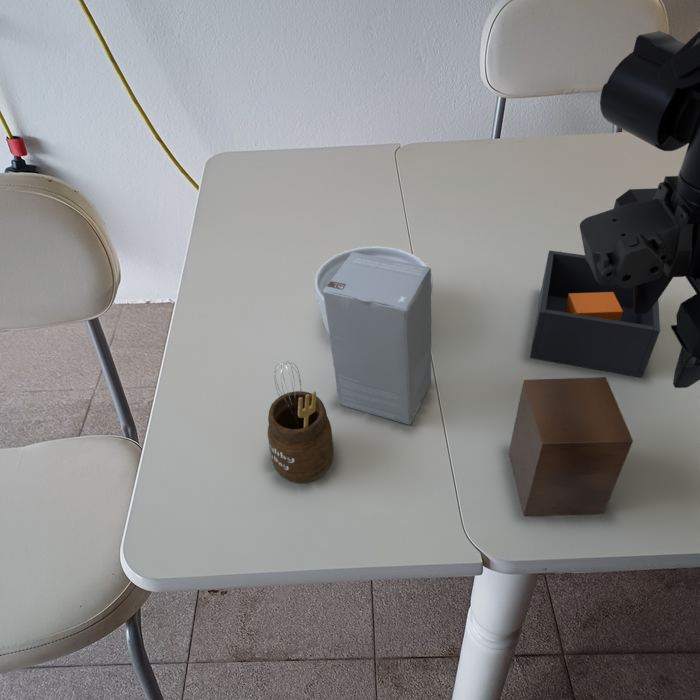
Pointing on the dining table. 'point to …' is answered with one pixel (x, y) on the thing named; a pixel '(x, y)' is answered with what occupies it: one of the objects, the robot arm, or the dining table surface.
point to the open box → (590, 322)
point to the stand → (567, 446)
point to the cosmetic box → (380, 335)
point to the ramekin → (337, 261)
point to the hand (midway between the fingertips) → (658, 347)
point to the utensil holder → (299, 435)
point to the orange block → (594, 305)
